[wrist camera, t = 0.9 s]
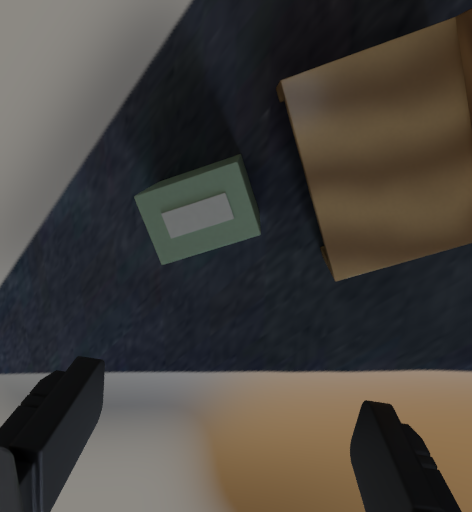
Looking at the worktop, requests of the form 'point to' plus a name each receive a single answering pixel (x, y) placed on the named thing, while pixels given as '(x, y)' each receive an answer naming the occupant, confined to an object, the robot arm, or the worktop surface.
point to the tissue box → (200, 210)
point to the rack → (388, 147)
